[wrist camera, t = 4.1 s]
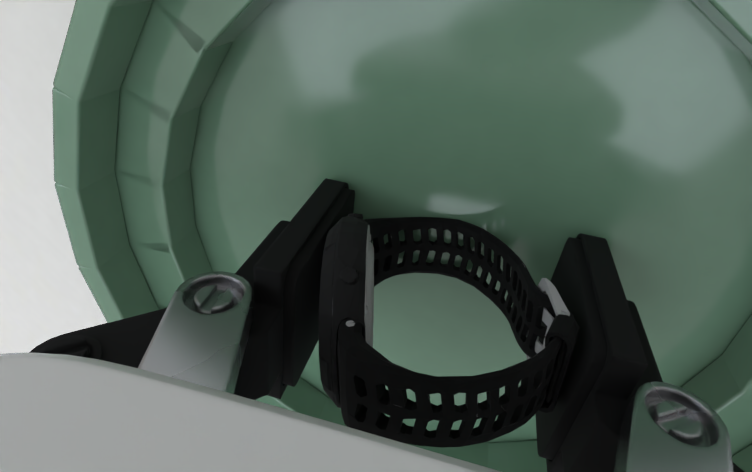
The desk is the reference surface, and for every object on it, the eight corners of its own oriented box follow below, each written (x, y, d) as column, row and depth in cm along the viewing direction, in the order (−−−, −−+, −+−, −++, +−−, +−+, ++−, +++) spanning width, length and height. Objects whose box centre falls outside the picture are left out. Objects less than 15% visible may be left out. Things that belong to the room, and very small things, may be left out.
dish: (82, -245, 9) (-89, -324, 6) (1206, -142, 6) (1661, -203, 4) (180, 379, 18) (127, 448, 15) (653, 518, 16) (680, 626, 13)
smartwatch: (378, 137, 10) (294, 262, 6) (586, 239, 11) (639, 428, 6) (321, 269, 13) (232, 425, 9) (492, 351, 13) (486, 545, 9)
